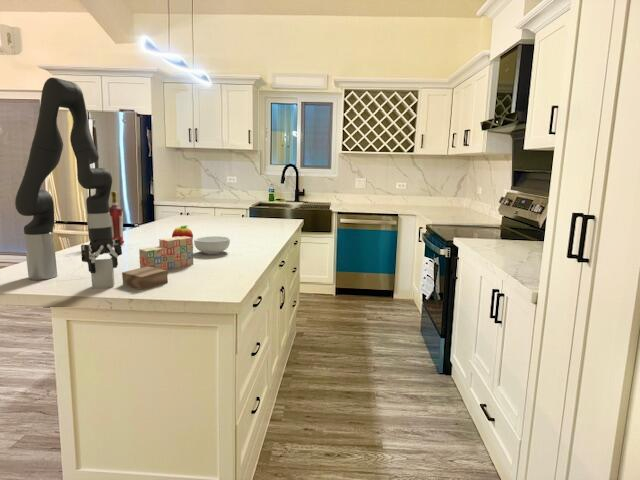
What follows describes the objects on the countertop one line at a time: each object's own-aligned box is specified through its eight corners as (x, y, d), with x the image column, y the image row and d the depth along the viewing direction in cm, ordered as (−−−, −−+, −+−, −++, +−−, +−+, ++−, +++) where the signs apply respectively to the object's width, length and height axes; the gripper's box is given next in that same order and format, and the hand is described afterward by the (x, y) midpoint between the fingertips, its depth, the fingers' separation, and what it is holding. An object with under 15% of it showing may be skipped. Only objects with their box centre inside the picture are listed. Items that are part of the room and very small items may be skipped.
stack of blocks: (147, 273, 175) (145, 243, 173) (140, 270, 179) (138, 241, 177) (193, 264, 191) (192, 237, 189) (185, 262, 195) (184, 235, 193)
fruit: (168, 245, 230) (167, 227, 228) (180, 242, 240) (179, 224, 238) (185, 247, 227) (184, 228, 225) (197, 243, 237) (196, 225, 235)
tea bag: (113, 287, 156) (111, 259, 154) (92, 288, 154) (90, 261, 152) (114, 284, 160) (112, 257, 158) (94, 285, 157) (91, 258, 156)
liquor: (109, 243, 231) (105, 191, 226) (124, 242, 235) (120, 191, 230) (110, 246, 225) (106, 192, 220) (125, 245, 229) (121, 192, 223)
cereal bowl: (234, 250, 222) (233, 236, 221) (223, 257, 206) (223, 242, 205) (202, 248, 224) (201, 235, 223) (189, 255, 208) (188, 241, 206)
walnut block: (123, 285, 159) (122, 272, 158) (148, 278, 168) (147, 266, 167) (142, 290, 153) (141, 277, 153) (167, 283, 163) (167, 270, 162)
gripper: (110, 222, 161) (114, 265, 164) (73, 227, 148) (78, 273, 151) (124, 223, 157) (127, 267, 160) (87, 229, 145) (92, 276, 148)
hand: (103, 270), depth 156 cm, fingers open, 8 cm apart
